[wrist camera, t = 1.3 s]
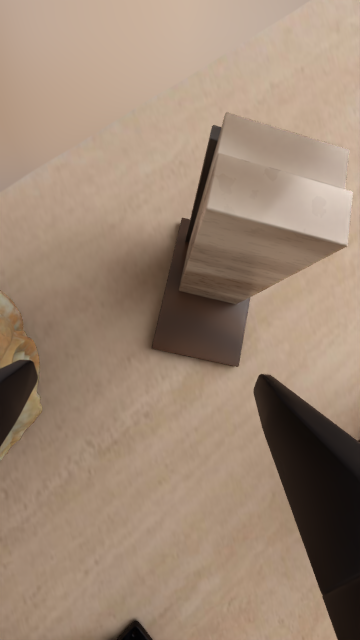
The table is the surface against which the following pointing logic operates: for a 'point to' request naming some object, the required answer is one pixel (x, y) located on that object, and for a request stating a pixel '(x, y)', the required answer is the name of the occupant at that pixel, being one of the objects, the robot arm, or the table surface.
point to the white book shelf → (250, 232)
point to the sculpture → (12, 345)
